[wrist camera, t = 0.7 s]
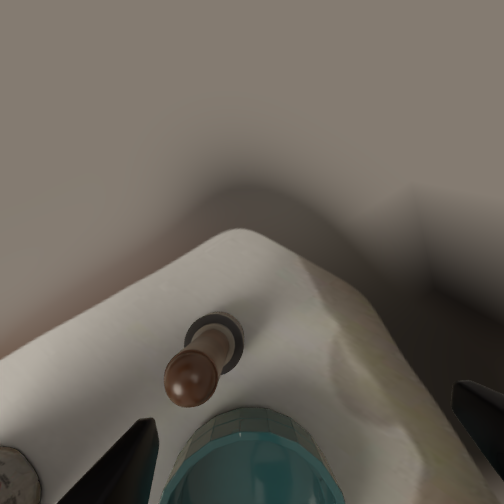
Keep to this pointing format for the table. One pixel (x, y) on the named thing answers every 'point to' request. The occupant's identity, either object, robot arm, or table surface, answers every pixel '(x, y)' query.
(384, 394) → the table surface
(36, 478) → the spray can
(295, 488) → the bowl
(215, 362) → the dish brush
